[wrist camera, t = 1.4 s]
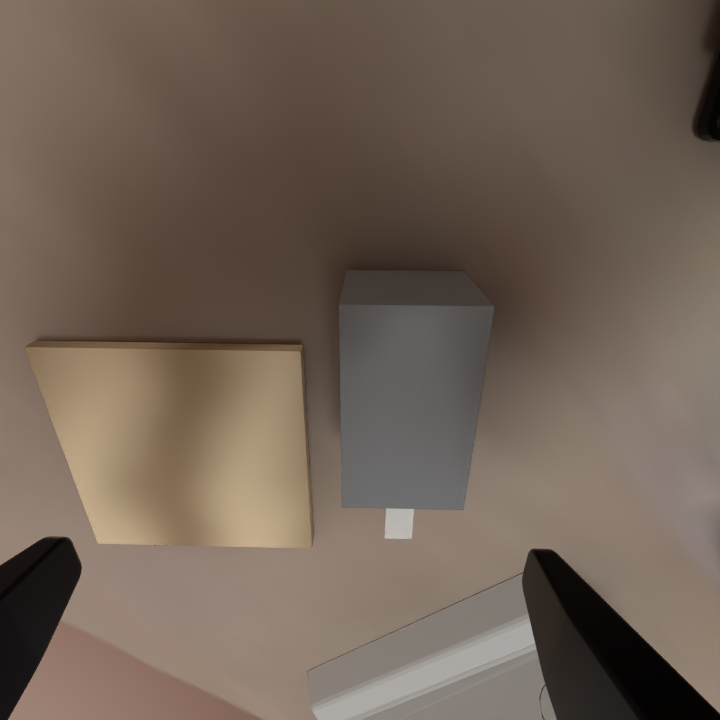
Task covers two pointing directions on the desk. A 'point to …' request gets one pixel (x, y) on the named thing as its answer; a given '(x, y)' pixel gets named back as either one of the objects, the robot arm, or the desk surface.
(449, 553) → the desk surface
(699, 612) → the desk surface
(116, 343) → the coaster
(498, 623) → the hinge
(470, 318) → the plug
